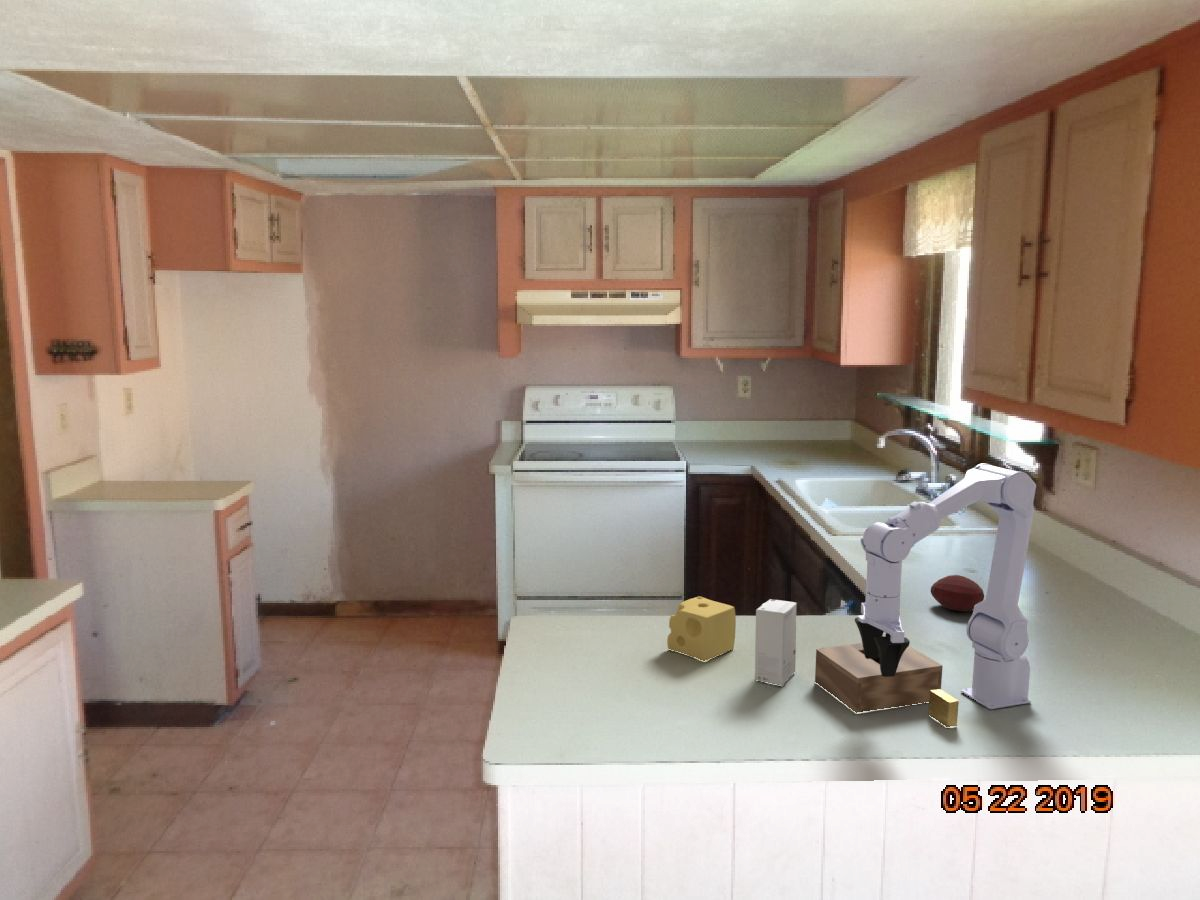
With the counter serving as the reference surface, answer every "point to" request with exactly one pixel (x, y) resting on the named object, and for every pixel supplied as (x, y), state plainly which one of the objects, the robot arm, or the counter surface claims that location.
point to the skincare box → (775, 641)
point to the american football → (957, 593)
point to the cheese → (702, 628)
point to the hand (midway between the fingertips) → (879, 666)
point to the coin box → (876, 678)
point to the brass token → (943, 707)
